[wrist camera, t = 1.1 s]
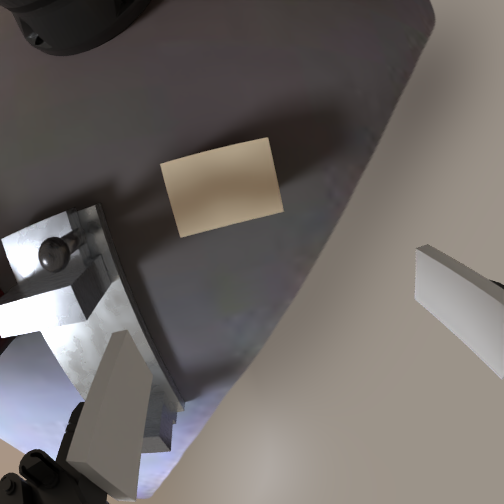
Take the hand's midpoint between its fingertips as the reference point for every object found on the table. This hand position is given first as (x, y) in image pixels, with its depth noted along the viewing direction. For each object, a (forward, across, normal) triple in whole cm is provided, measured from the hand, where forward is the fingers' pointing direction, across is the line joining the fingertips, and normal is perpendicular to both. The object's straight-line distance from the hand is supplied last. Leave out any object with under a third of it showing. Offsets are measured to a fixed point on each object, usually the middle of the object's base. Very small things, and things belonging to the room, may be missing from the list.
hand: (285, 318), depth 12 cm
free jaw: (+15, -19, +2) cm, 24 cm away
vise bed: (+16, -19, -7) cm, 26 cm away
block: (+17, -1, +4) cm, 17 cm away
